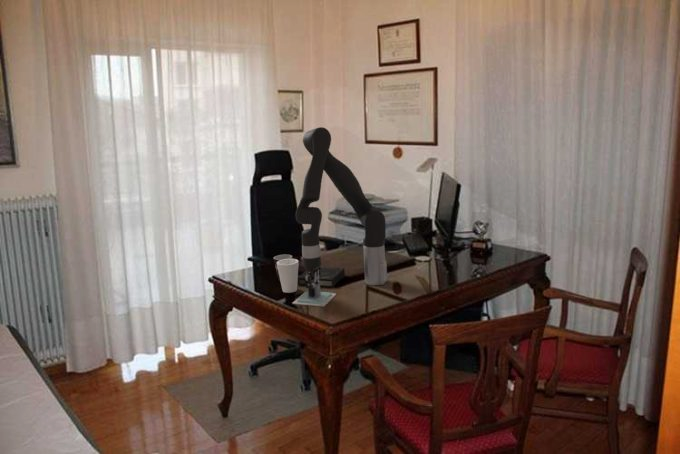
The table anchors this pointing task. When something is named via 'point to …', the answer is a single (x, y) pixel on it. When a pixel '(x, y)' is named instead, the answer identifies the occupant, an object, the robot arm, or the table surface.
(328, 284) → the portable cd player
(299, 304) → the tray
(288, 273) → the foam cup
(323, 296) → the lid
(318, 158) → the robot arm
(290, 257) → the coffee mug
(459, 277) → the table surface
